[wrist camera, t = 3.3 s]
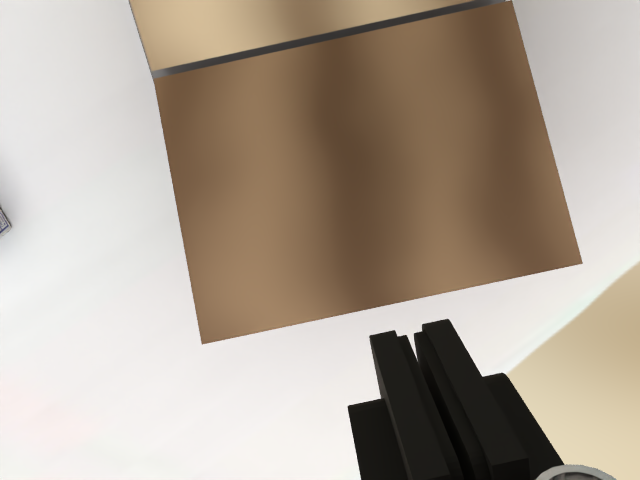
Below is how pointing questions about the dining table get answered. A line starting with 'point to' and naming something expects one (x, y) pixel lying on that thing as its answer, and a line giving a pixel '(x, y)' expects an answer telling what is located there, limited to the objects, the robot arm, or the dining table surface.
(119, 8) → the dining table surface
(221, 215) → the walnut plank
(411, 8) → the oak plank
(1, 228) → the medicine box
